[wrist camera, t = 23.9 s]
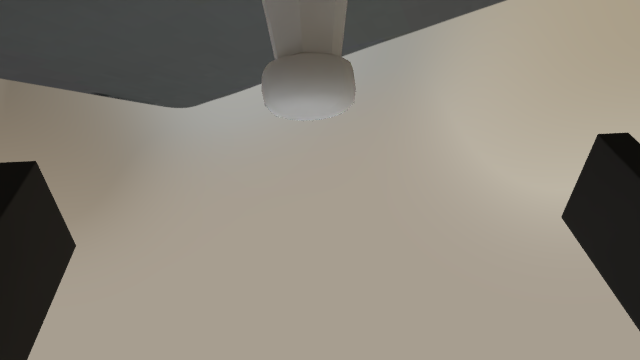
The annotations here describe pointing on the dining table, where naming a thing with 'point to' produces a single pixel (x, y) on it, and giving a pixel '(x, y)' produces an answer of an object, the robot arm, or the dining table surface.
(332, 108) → the salt shaker
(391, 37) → the dining table surface
